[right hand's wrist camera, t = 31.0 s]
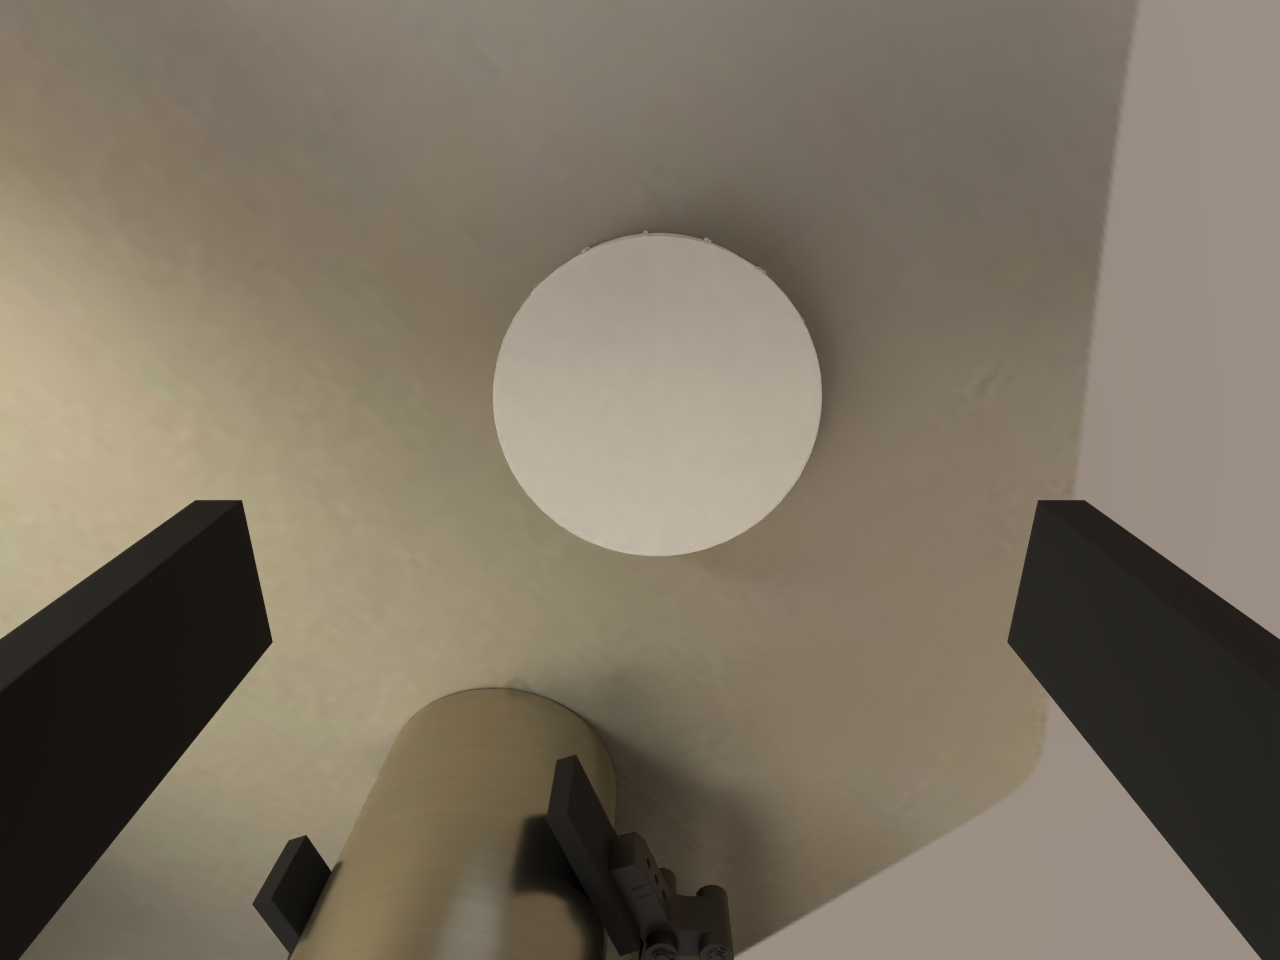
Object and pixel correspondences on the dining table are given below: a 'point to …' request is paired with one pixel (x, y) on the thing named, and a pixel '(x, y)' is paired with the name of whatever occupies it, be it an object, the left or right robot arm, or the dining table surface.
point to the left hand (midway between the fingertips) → (416, 827)
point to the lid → (657, 395)
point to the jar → (466, 842)
